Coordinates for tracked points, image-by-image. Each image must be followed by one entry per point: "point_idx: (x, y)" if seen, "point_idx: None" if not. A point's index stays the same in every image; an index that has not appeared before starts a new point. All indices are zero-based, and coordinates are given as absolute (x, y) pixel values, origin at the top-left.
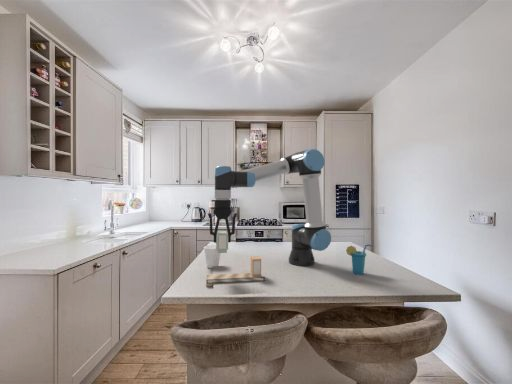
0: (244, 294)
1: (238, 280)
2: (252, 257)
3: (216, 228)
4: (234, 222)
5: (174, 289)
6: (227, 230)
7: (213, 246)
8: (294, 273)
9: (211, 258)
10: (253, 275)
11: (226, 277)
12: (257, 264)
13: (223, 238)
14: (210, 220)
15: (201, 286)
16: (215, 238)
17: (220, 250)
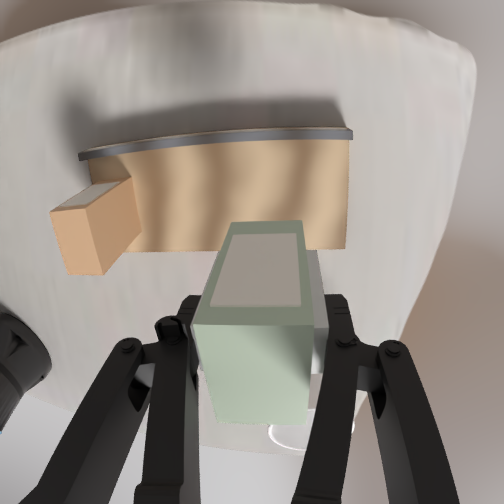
0: (175, 22)
1: (191, 134)
2: (91, 248)
3: (337, 401)
4: (67, 443)
5: (466, 120)
6: (185, 376)
7: (305, 445)
8: (16, 252)
9: (318, 377)
10: (121, 181)
11: (251, 203)
12: (79, 198)
13: (246, 282)
14: (443, 492)
15: (367, 130)
16: (334, 320)
17: (281, 228)
